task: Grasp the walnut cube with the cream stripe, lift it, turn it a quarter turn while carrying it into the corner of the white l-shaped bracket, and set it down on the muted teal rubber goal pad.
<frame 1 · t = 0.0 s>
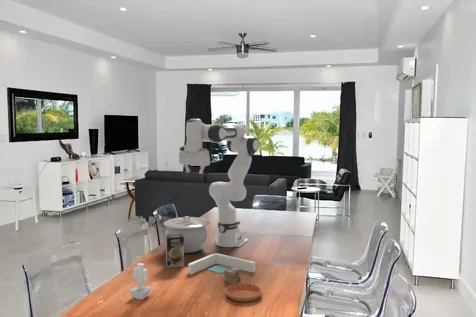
hand: (194, 173, 231), 48 cm above the table, fingers open, 8 cm apart
saucer: (243, 296, 184), on the table
cube: (232, 281, 201), on the table
coffee box: (175, 265, 222), on the table
white l-shaped bracket: (223, 272, 211), on the table
figurine: (141, 297, 182), on the table
chamber pot: (187, 250, 249), on the table
goal pad: (219, 269, 217), on the table
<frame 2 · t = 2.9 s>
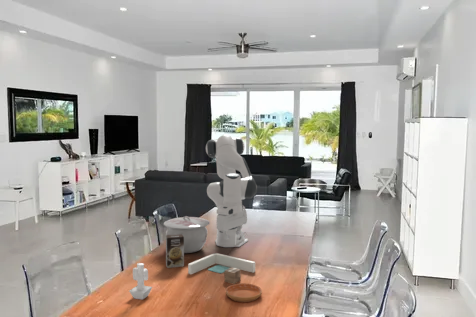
hand: (232, 236, 199), 22 cm above the table, fingers open, 8 cm apart
nothing on the table moved.
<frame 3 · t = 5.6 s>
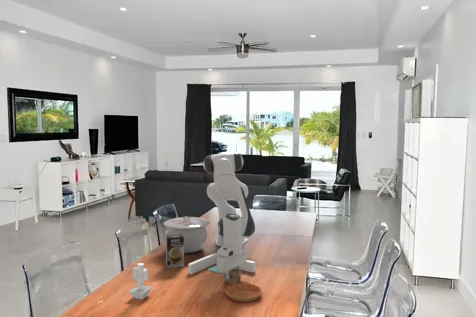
hand: (232, 276, 200), 2 cm above the table, fingers closed on cube, 5 cm apart
cube: (232, 281, 201), on the table, touching gripper
everything else where it was.
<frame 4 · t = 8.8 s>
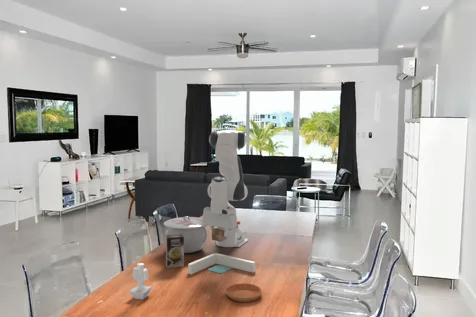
hand: (219, 235, 215), 18 cm above the table, fingers closed on cube, 5 cm apart
cube: (219, 239, 215), point 16 cm above the table, touching gripper
everything else where it was.
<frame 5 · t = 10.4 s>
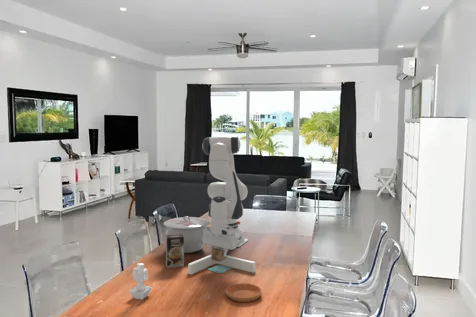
hand: (219, 254, 216), 8 cm above the table, fingers closed on cube, 5 cm apart
cube: (219, 259, 216), point 5 cm above the table, touching gripper
everything else where it was.
when the fingers open (4 cm above the table, at t = 12.1 s): cube drops 1 cm, resting on goal pad.
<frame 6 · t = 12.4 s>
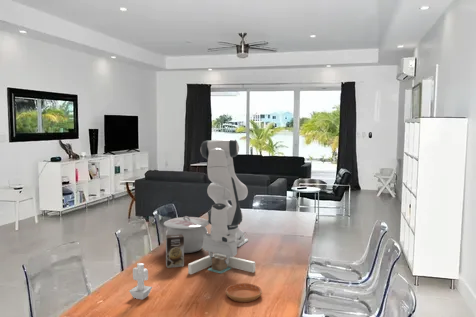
hand: (219, 261, 216), 4 cm above the table, fingers open, 8 cm apart
cube: (219, 268, 217), resting on goal pad
everything else where it was.
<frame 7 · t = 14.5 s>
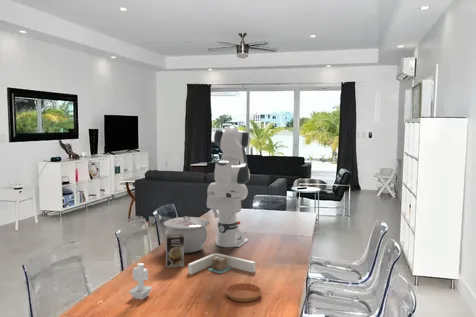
hand: (223, 218, 215), 27 cm above the table, fingers open, 8 cm apart
nothing on the table moved.
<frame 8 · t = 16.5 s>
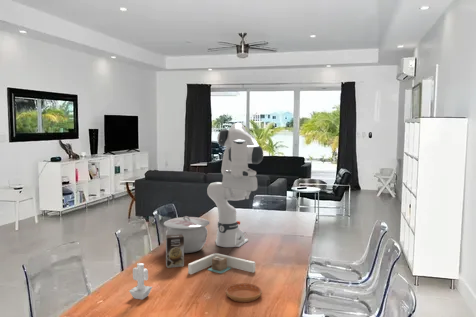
hand: (239, 197, 216), 37 cm above the table, fingers open, 8 cm apart
nothing on the table moved.
at the end: cube inside the target area on the goal pad (0.1 cm from its centre), point 0.3 cm above the goal pad's base; cube tilted 0°; the gripper is holding nothing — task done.
